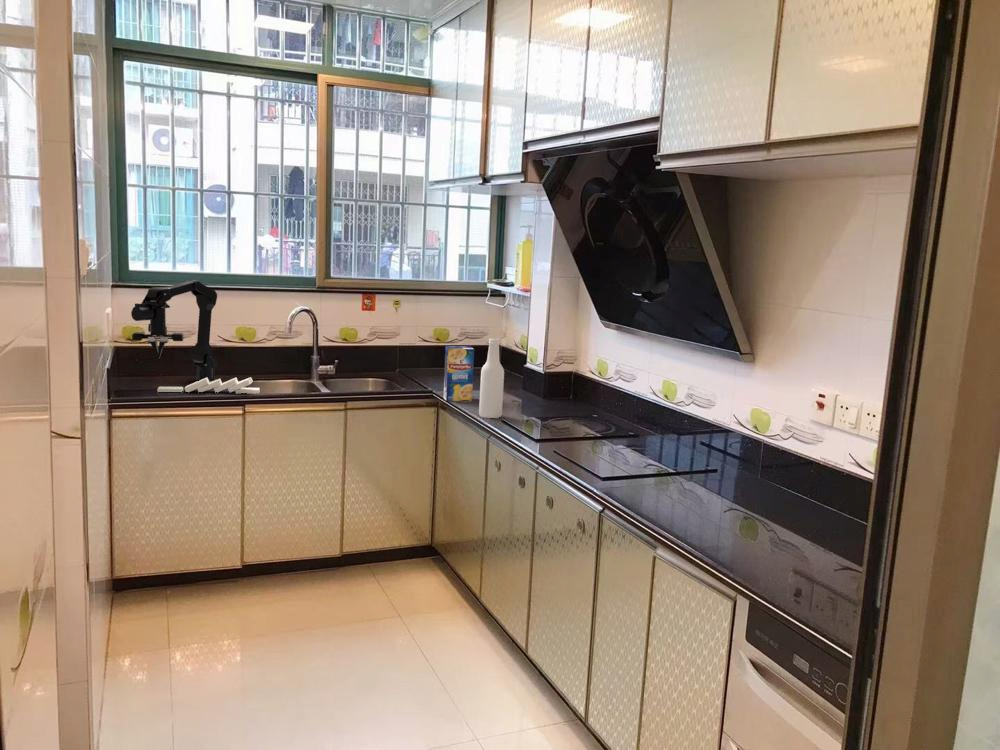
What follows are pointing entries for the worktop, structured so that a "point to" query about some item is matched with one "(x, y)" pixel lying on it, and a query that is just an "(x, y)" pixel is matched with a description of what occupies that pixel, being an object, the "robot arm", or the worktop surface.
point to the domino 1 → (170, 389)
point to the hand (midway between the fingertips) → (158, 357)
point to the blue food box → (458, 373)
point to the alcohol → (491, 383)
